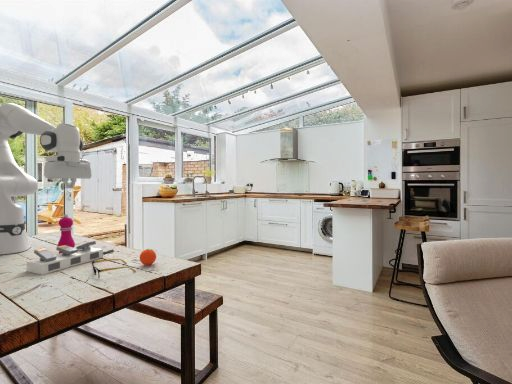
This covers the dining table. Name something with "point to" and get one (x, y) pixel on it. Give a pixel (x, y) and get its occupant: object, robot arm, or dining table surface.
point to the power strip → (65, 260)
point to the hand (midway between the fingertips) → (69, 188)
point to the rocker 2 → (67, 249)
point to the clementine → (148, 257)
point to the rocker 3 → (86, 245)
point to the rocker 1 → (45, 254)
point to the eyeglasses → (109, 268)
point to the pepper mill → (66, 232)
